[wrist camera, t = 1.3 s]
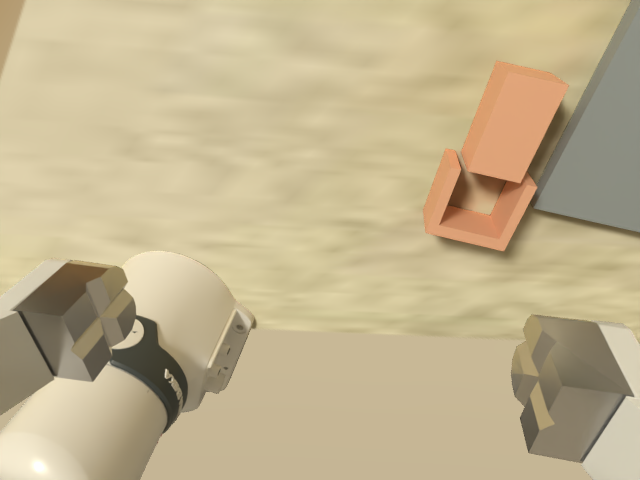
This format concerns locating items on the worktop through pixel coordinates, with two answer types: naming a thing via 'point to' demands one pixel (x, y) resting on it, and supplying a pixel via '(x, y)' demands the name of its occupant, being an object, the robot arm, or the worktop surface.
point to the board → (601, 141)
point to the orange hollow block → (497, 155)
